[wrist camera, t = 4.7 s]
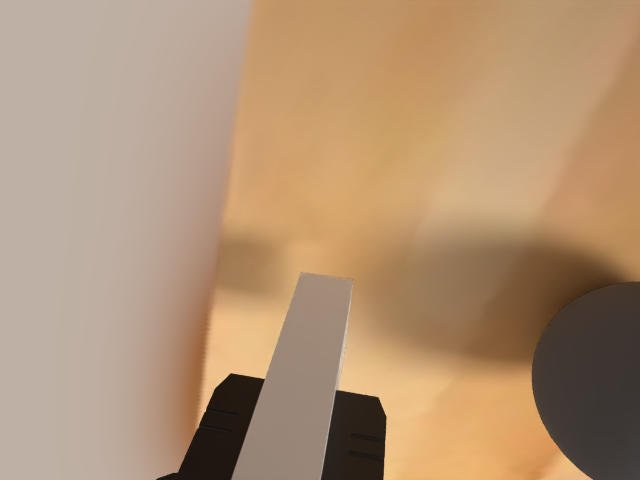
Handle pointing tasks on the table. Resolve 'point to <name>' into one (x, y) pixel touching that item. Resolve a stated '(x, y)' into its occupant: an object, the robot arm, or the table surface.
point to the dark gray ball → (593, 381)
